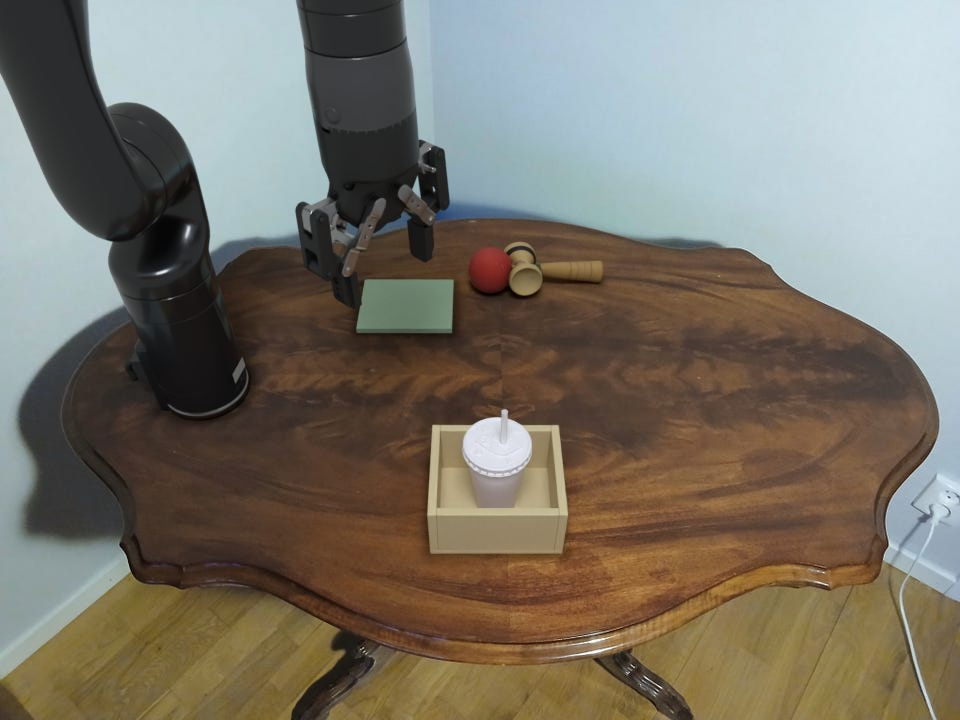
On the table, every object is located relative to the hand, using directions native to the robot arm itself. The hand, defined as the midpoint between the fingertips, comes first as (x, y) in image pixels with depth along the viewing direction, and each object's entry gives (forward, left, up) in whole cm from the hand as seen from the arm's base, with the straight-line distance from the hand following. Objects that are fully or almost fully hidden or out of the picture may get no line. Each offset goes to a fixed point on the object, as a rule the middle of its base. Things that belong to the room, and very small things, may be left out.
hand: (387, 280), depth 64 cm
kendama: (+16, +27, -22) cm, 39 cm away
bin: (+10, -9, -22) cm, 26 cm away
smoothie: (+10, -9, -22) cm, 25 cm away
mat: (-1, +22, -22) cm, 31 cm away
